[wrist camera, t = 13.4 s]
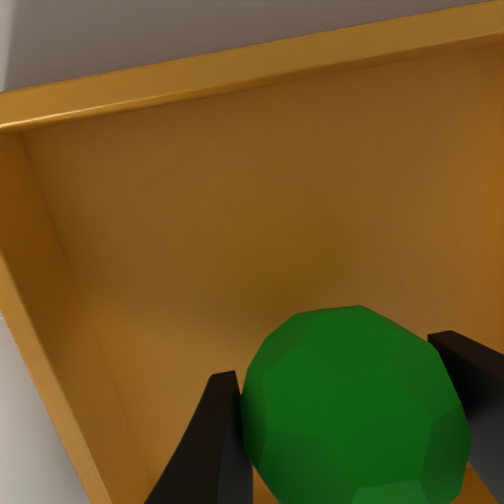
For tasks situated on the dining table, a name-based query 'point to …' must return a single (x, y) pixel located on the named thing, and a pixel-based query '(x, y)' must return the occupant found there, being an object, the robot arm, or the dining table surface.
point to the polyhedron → (353, 413)
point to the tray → (246, 219)
